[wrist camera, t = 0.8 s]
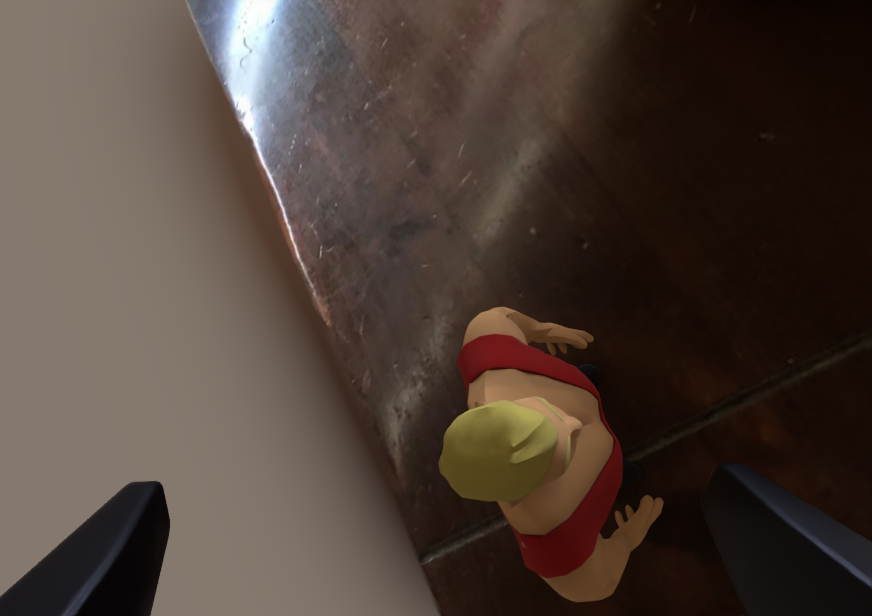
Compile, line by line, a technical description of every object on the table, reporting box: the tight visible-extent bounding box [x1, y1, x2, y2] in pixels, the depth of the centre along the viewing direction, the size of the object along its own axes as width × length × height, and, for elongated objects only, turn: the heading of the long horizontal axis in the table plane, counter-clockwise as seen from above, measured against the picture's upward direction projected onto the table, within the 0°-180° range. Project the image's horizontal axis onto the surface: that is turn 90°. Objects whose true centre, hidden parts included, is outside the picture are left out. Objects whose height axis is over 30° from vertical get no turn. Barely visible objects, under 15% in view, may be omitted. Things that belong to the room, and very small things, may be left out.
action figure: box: [439, 307, 664, 602], centre depth 16 cm, size 10×4×15 cm, turn 19°
